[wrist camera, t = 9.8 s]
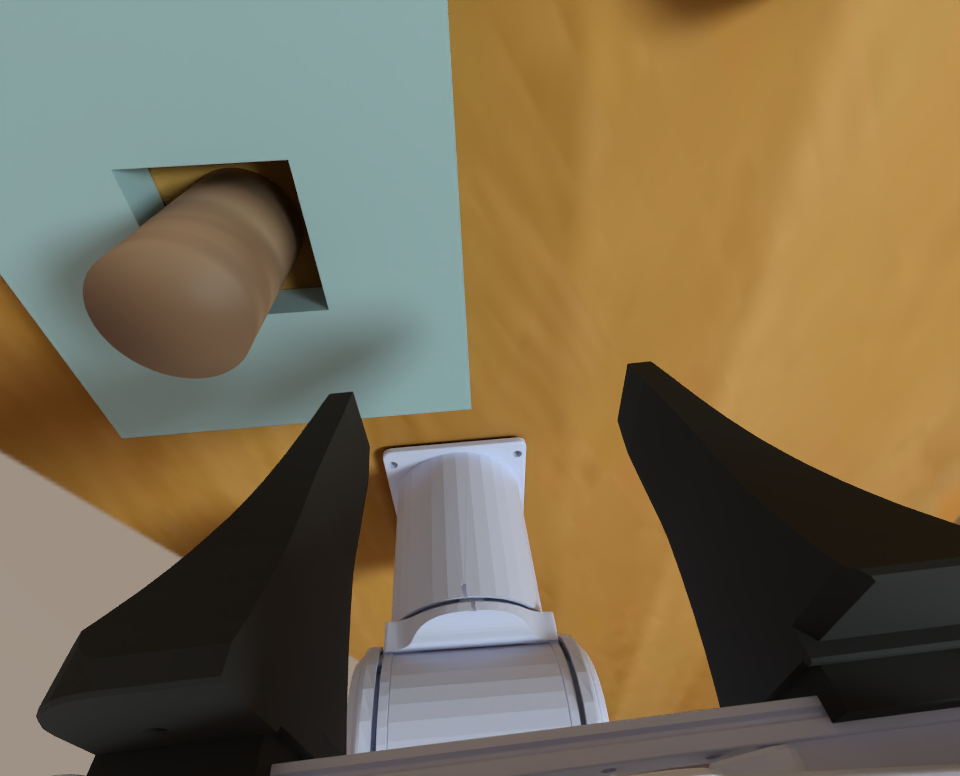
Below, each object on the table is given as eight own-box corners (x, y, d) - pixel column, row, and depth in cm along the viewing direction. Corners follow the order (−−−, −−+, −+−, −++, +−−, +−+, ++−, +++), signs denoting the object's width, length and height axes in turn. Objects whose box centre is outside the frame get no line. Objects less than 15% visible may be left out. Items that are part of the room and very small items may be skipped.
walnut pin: (315, 269, 19) (272, 373, 14) (215, 275, 19) (132, 383, 14) (285, 164, 17) (219, 241, 11) (170, 171, 16) (47, 252, 11)
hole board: (468, 382, 24) (471, 409, 22) (142, 409, 23) (122, 438, 21) (438, -99, 13) (440, -113, 11) (-183, -80, 12) (-271, -92, 11)
